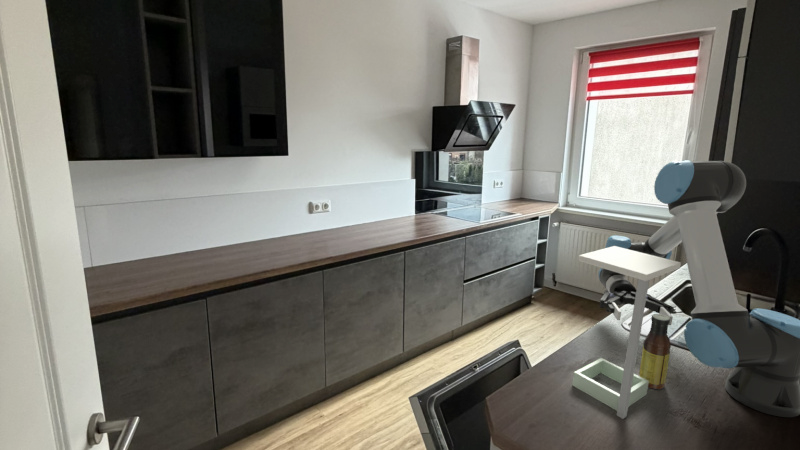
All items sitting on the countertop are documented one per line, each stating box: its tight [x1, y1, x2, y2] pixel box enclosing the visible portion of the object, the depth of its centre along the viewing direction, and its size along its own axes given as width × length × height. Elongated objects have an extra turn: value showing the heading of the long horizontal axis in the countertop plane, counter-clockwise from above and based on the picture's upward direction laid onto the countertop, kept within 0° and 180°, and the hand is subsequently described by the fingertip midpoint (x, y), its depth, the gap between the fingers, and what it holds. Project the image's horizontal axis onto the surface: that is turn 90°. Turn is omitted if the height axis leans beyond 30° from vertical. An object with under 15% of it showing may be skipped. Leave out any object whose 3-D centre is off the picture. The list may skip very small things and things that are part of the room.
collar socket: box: [571, 357, 649, 412], centre depth 110 cm, size 13×13×4 cm
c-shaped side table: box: [577, 246, 682, 420], centre depth 106 cm, size 16×16×36 cm
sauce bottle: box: [638, 313, 672, 390], centre depth 111 cm, size 7×6×20 cm
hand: (644, 318), depth 120 cm, fingers open, 13 cm apart
